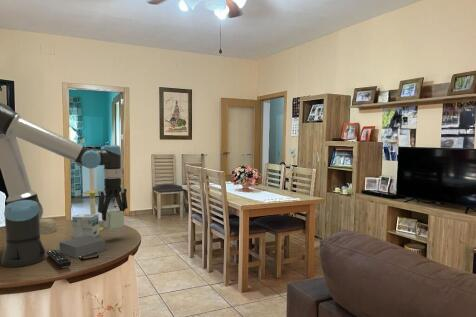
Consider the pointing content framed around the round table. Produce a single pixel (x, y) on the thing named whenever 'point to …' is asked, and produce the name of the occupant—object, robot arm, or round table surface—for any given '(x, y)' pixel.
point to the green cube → (115, 219)
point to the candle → (92, 194)
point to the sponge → (47, 226)
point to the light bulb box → (85, 225)
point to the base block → (82, 246)
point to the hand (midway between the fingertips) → (113, 225)
